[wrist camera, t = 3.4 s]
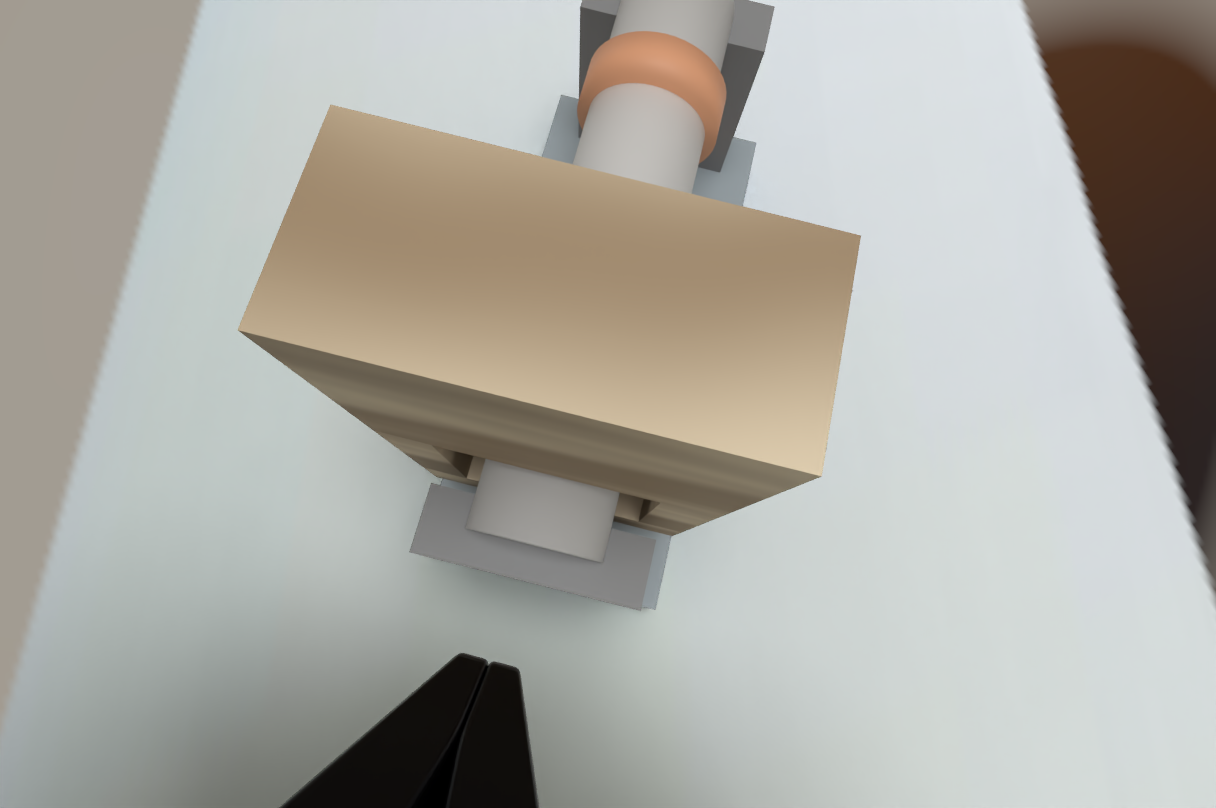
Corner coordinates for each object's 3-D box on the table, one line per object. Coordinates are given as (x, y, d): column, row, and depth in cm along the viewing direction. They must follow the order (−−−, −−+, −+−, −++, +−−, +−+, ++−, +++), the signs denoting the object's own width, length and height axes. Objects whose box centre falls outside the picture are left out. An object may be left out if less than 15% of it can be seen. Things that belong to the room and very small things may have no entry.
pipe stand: (649, 607, 21) (703, 628, 12) (430, 552, 21) (334, 535, 12) (745, 167, 25) (835, -44, 16) (561, 122, 25) (556, -112, 16)
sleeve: (672, 536, 18) (821, 476, 7) (436, 476, 18) (237, 330, 7) (694, 430, 19) (860, 236, 8) (468, 374, 19) (330, 104, 8)
